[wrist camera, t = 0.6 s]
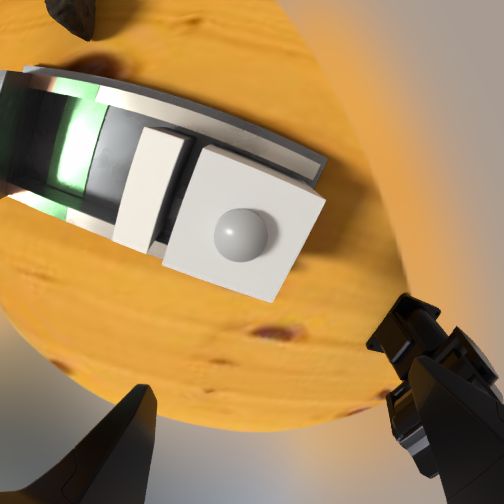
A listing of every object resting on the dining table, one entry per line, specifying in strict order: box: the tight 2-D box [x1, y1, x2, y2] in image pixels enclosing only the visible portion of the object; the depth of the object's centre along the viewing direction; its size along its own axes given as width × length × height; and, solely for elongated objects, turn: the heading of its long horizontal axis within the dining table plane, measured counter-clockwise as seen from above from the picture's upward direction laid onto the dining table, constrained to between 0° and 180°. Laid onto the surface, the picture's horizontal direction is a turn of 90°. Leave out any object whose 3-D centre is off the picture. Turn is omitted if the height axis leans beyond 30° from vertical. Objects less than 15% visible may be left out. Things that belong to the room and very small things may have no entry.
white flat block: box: [112, 127, 197, 254], centre depth 15 cm, size 2×6×4 cm, turn 157°
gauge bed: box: [0, 65, 328, 259], centre depth 15 cm, size 24×10×6 cm, turn 67°
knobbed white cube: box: [162, 143, 326, 303], centre depth 15 cm, size 6×6×5 cm
